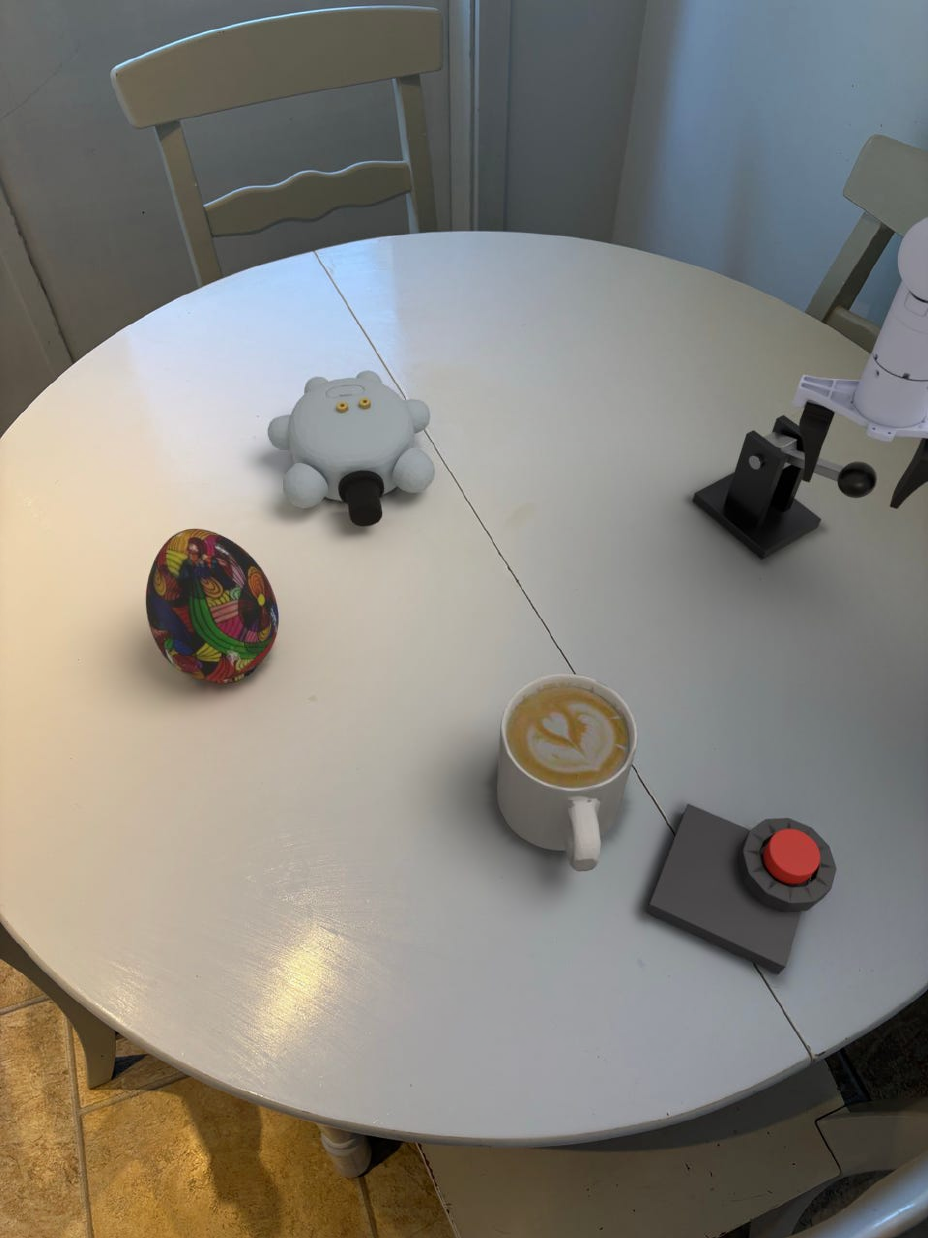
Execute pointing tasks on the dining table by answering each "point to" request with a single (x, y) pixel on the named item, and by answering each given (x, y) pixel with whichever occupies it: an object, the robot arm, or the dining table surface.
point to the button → (791, 856)
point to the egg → (210, 607)
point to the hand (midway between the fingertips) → (851, 487)
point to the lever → (830, 468)
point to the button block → (736, 887)
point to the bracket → (761, 495)
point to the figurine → (352, 445)
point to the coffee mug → (565, 763)
